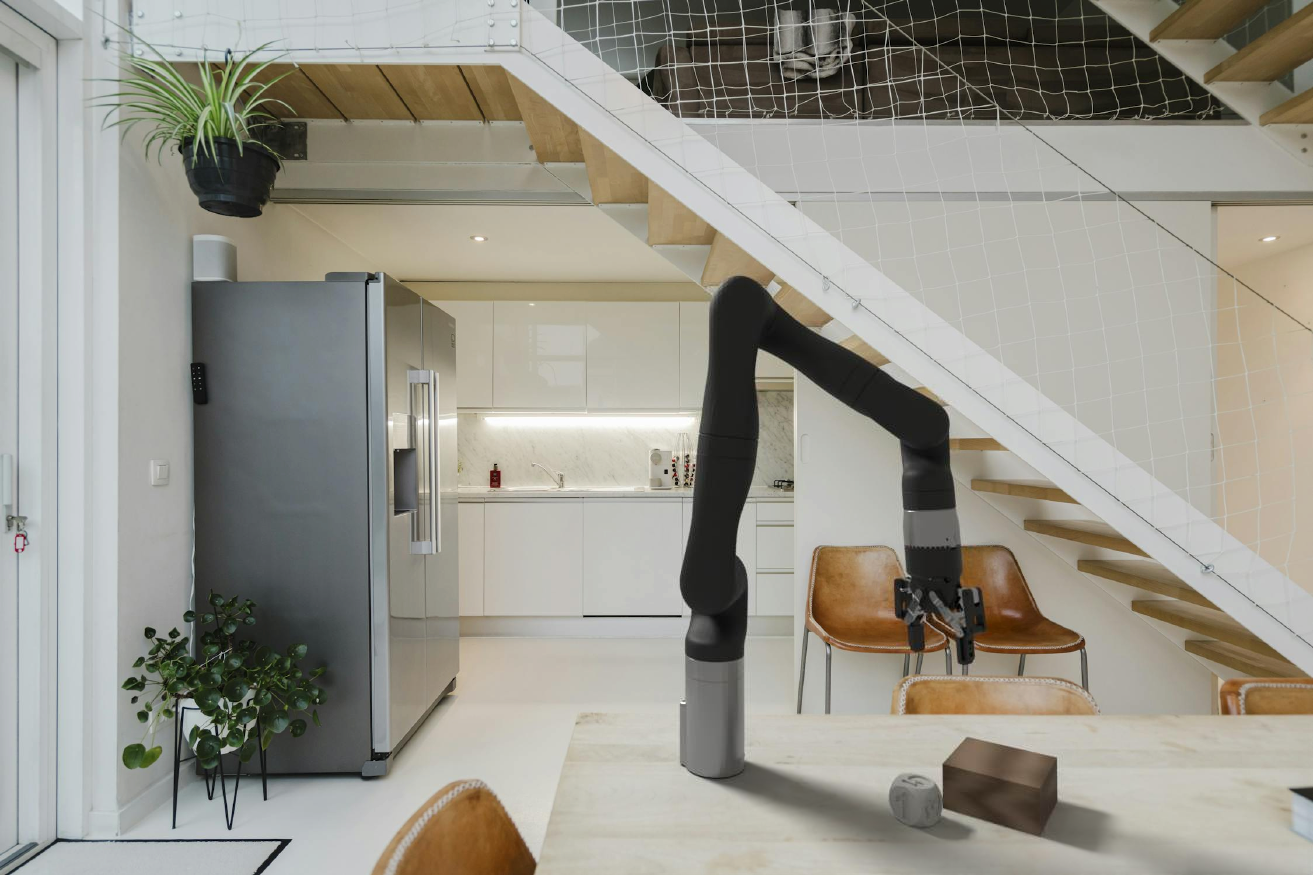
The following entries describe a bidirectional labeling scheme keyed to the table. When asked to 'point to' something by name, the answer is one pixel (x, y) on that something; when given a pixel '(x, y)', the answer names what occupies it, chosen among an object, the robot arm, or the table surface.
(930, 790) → the die
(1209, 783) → the table surface
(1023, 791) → the pedestal
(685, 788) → the table surface
